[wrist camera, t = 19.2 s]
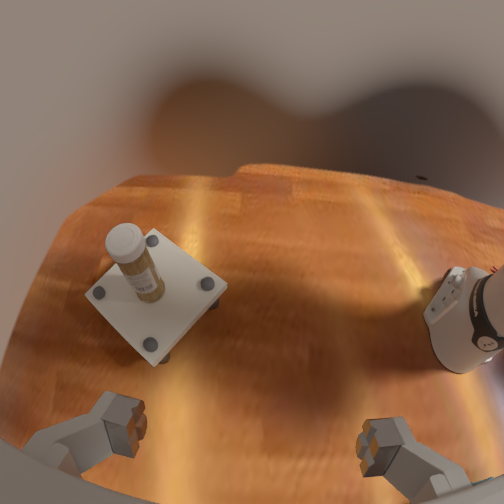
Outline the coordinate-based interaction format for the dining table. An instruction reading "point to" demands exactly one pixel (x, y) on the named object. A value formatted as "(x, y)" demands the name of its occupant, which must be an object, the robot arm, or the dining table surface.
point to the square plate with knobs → (164, 310)
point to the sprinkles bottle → (135, 261)
